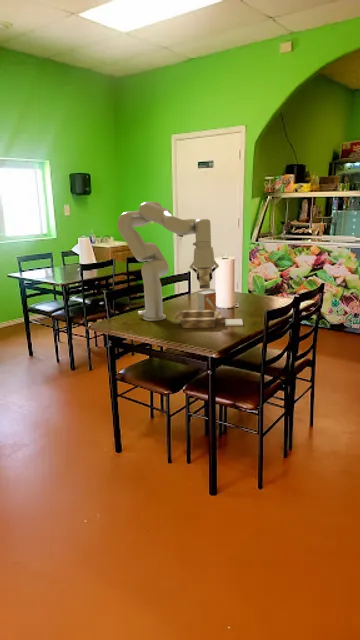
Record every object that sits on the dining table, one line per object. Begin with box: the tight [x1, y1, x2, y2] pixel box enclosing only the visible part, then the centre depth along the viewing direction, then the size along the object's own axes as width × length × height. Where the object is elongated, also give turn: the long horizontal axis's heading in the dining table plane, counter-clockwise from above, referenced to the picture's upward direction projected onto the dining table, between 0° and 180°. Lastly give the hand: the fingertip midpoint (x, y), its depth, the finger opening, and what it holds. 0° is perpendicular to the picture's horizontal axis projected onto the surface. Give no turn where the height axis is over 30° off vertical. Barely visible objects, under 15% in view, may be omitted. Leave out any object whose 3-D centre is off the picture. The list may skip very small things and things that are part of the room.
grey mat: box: [224, 318, 244, 327], centre depth 225 cm, size 9×10×1 cm
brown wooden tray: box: [174, 309, 222, 329], centre depth 226 cm, size 23×19×5 cm
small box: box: [197, 290, 217, 311], centre depth 242 cm, size 8×6×13 cm
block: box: [198, 268, 211, 290], centre depth 220 cm, size 5×6×10 cm
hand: (204, 280), depth 220 cm, fingers closed on block, 5 cm apart
